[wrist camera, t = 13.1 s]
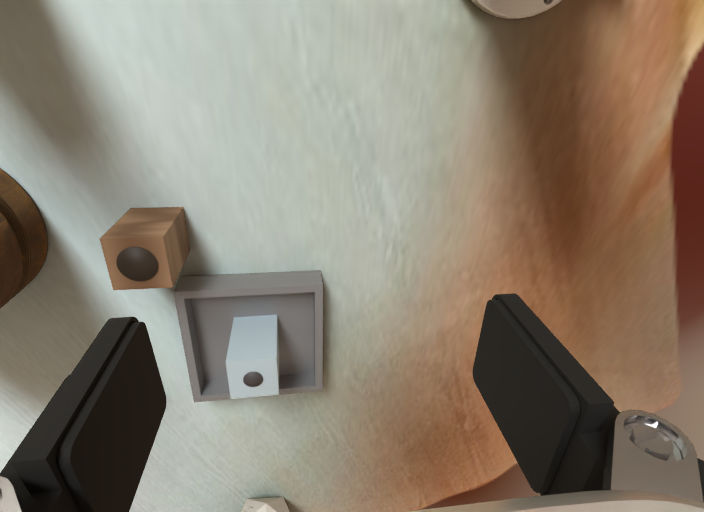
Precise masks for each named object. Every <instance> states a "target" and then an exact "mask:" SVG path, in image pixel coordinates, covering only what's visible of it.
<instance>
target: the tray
mask: <svg viewBox="0 0 704 512" xmlns="http://www.w3.org/2000/svg"><path fill="white" fill-rule="evenodd" d="M174 297H175V303H176V308H177V313H178V319H179V324H180V329H181V335H182V340H183V345H184V351H185V356H186V361H187V367H188V372H189V377H190V383H191V388H192V393H193V399H194V402H202V401H213V400H224V399H231V397H230V390H229V383H228V376H227V369H226V357H227V352H228V346H229V341H230V336H231V330H232V325H233V319H234V317H248V316H264V315H277V320H278V336H279V394H290V393H301V392H312V391H322V375H323V282H322V277H321V271H296V272H273V273H250V274H226V275H203V276H181V277H180V279H179V281H178V283H177V286H176V288H175V290H174Z"/></svg>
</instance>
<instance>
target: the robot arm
mask: <svg viewBox="0 0 704 512" xmlns="http://www.w3.org/2000/svg"><path fill="white" fill-rule="evenodd" d="M471 1H472V2H473V3H474V4H475V5H477V6H478V7H479V8H480V9H482V10H483V11H484V12H487V13H489V14H491V15H493V16H495V17H500V18H505V19H519V18H525V17H530V16H535V15H537V14H539V13H542V12H544V11H547V10H548V9H550V8H552V7H553V6H555V5H556V4H558V3H559V2H561V1H562V0H471ZM473 378H474V382H475V384H476V386H477V388H478V389H479V391H480V393H481V395H482V397H483V399H484V401H485V402H486V404H487V406H488V408H489V410H490V412H491V414H492V415H493V417H494V419H495V421H496V423H497V425H498V427H499V428H500V430H501V432H502V434H503V436H504V438H505V440H506V442H507V443H508V445H509V447H510V449H511V451H512V453H513V455H514V456H515V458H516V460H517V462H518V464H519V466H520V467H521V469H522V471H523V473H524V475H525V477H526V479H527V481H528V482H529V484H530V486H531V488H532V489H533V490H534V491H535V492H536V493H540V494H541V496H535V497H525V498H516V499H508V500H500V501H491V502H484V503H475V504H467V505H458V506H450V507H442V508H434V509H425V510H417V511H409V512H704V461H703V460H700V459H698V458H697V454H696V451H695V448H694V446H693V444H692V443H691V441H690V440H689V439H688V437H687V436H686V435H685V434H684V433H683V432H682V431H681V430H679V429H678V428H677V427H676V426H674V425H673V424H671V423H670V422H668V421H667V420H665V419H663V418H661V417H659V416H656V415H655V414H652V413H648V412H645V411H641V410H627V411H623V412H621V413H620V412H619V411H618V410H617V409H616V408H615V407H614V405H613V404H614V402H613V400H612V399H611V398H610V397H609V396H608V395H607V394H606V393H605V391H604V390H603V389H602V388H601V387H600V386H599V385H598V384H597V383H596V381H595V380H594V379H593V378H592V377H591V376H590V375H589V374H588V373H587V371H586V370H585V369H584V368H583V367H582V366H581V365H580V364H579V363H578V361H577V360H576V359H575V358H574V357H573V356H572V355H571V354H570V353H569V351H568V350H567V349H566V348H565V347H564V346H563V345H562V344H561V343H560V341H559V340H558V339H557V338H556V337H555V336H554V335H553V334H552V333H551V331H550V330H549V329H548V328H547V327H546V326H545V325H544V324H543V323H542V321H541V320H540V319H539V318H538V317H537V316H536V315H535V314H534V313H533V311H532V310H531V309H530V308H529V307H528V306H527V305H526V304H525V303H524V301H523V300H522V299H521V298H520V297H519V296H518V295H517V294H497V295H494V297H493V298H492V300H489V301H488V302H487V305H486V309H485V314H484V319H483V324H482V328H481V333H480V338H479V343H478V347H477V352H476V357H475V362H474V367H473ZM165 408H166V395H165V391H164V388H163V384H162V381H161V377H160V374H159V370H158V367H157V363H156V360H155V356H154V352H153V349H152V345H151V342H150V338H149V335H148V331H147V328H146V325H145V323H144V322H138V320H137V318H136V317H123V318H111V319H109V320H108V321H107V322H106V324H105V325H104V327H103V328H102V329H101V331H100V332H99V334H98V335H97V337H96V338H95V340H94V341H93V343H92V344H91V346H90V347H89V349H88V350H87V351H86V353H85V354H84V356H83V357H82V359H81V360H80V362H79V363H78V365H77V366H76V368H75V369H74V371H73V372H72V373H71V375H69V376H68V377H67V378H66V379H65V380H64V382H63V383H62V384H61V386H60V387H59V389H58V390H57V392H56V393H55V395H54V396H53V397H52V399H51V400H50V402H49V403H48V405H47V406H46V408H45V409H44V411H43V412H42V413H41V415H40V416H39V418H38V419H37V421H36V422H35V424H34V425H33V427H32V428H31V429H30V431H29V432H28V434H27V435H26V437H25V438H24V440H23V441H22V442H21V444H20V445H19V447H18V448H17V450H16V451H15V453H14V454H13V456H12V457H11V458H10V460H9V461H8V463H7V464H6V466H5V467H4V469H3V470H2V471H1V473H0V512H129V510H130V507H131V505H132V502H133V499H134V496H135V493H136V491H137V488H138V485H139V482H140V479H141V476H142V474H143V471H144V468H145V465H146V462H147V460H148V457H149V454H150V451H151V448H152V446H153V443H154V440H155V437H156V434H157V431H158V429H159V426H160V423H161V420H162V417H163V415H164V412H165Z"/></svg>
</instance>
